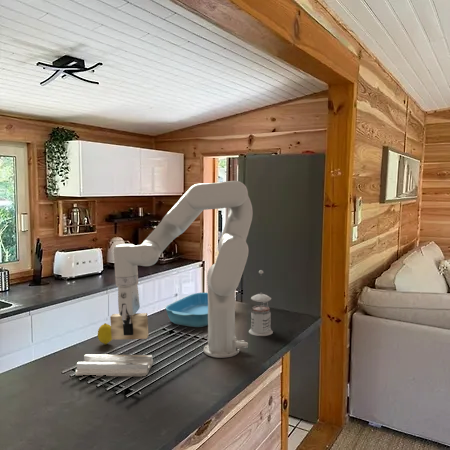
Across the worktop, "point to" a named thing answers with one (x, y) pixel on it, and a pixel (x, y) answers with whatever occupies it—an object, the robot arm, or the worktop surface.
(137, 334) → the tan wooden block
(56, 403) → the worktop surface
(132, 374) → the bottom track
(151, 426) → the worktop surface
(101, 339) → the lemon
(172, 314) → the casserole dish
